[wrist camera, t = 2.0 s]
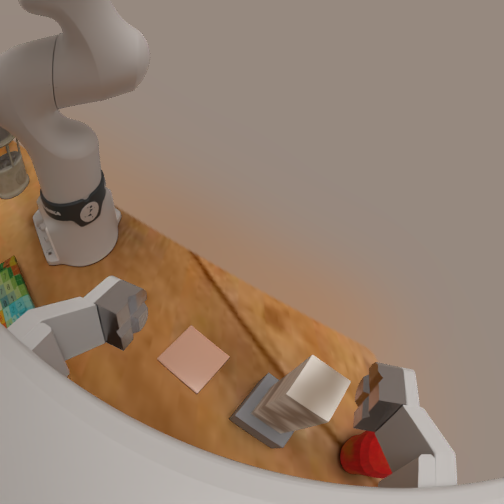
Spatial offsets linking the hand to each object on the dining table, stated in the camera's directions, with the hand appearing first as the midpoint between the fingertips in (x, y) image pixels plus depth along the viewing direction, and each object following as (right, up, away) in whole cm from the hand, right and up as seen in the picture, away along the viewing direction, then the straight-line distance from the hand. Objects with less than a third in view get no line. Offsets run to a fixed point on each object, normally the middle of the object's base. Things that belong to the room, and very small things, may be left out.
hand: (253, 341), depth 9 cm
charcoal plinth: (+2, -22, +30) cm, 37 cm away
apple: (+16, -30, +27) cm, 44 cm away
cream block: (+3, -18, +26) cm, 32 cm away
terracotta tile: (-9, -14, +33) cm, 37 cm away
